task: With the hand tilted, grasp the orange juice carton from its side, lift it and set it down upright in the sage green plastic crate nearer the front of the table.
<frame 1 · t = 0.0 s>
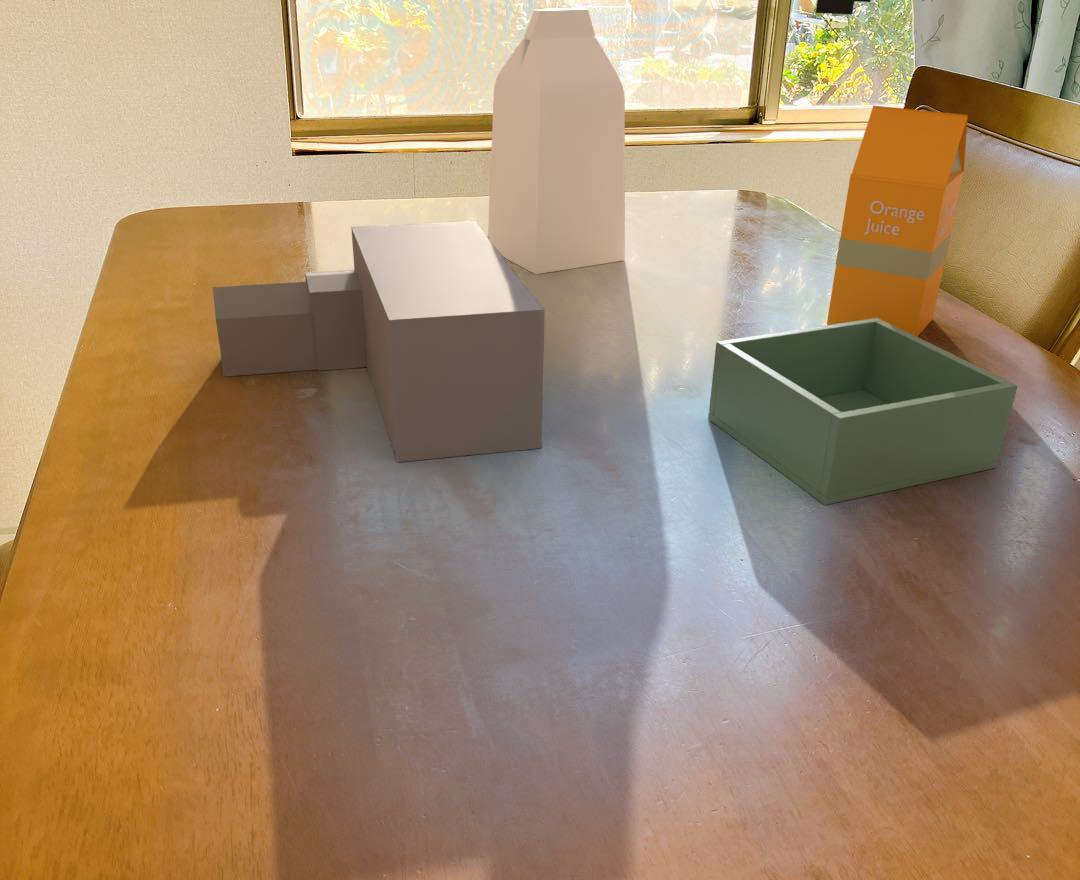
hand: (844, 7, 89), 29 cm above the table, tool pointing down, fingers open, 13 cm apart
milk: (555, 256, 127), on the table
orange juice: (879, 323, 109), on the table
crate: (846, 442, 84), on the table
grey stepped block: (369, 399, 90), on the table
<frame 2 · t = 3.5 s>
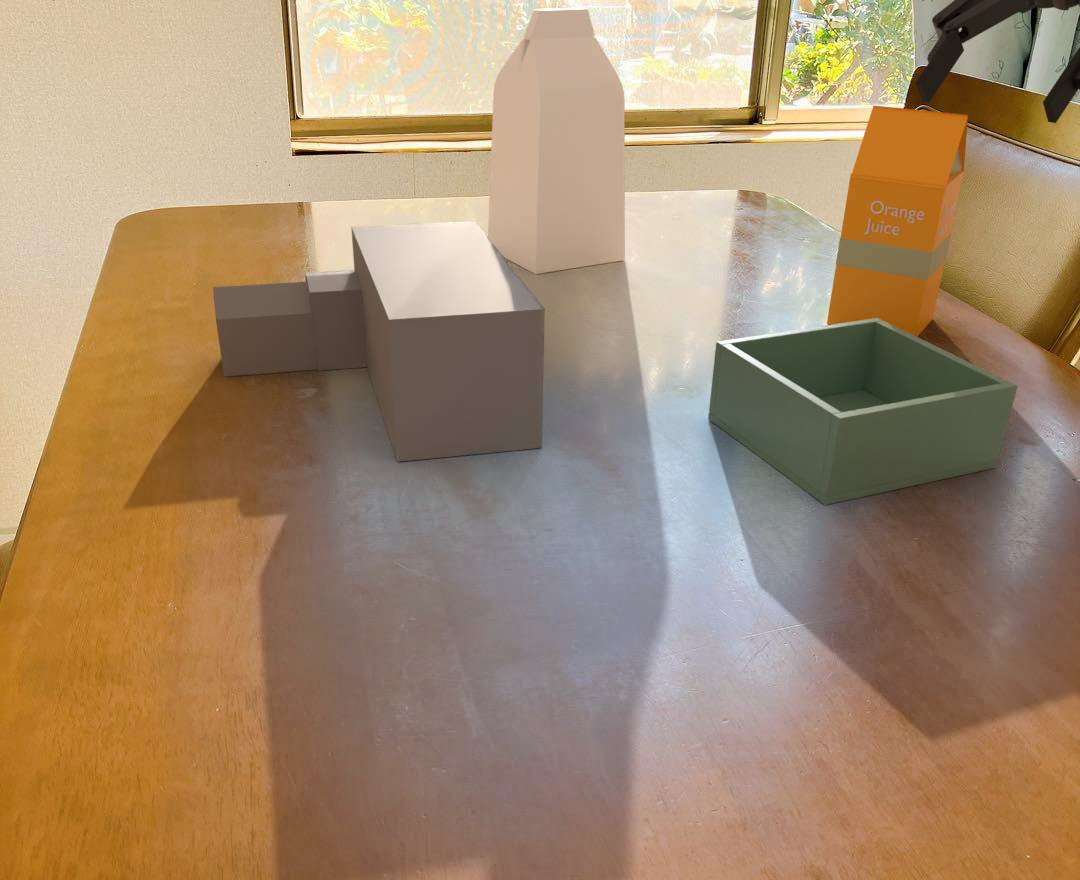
hand: (982, 102, 104), 20 cm above the table, tool tilted 45°, fingers open, 13 cm apart
nothing on the table moved.
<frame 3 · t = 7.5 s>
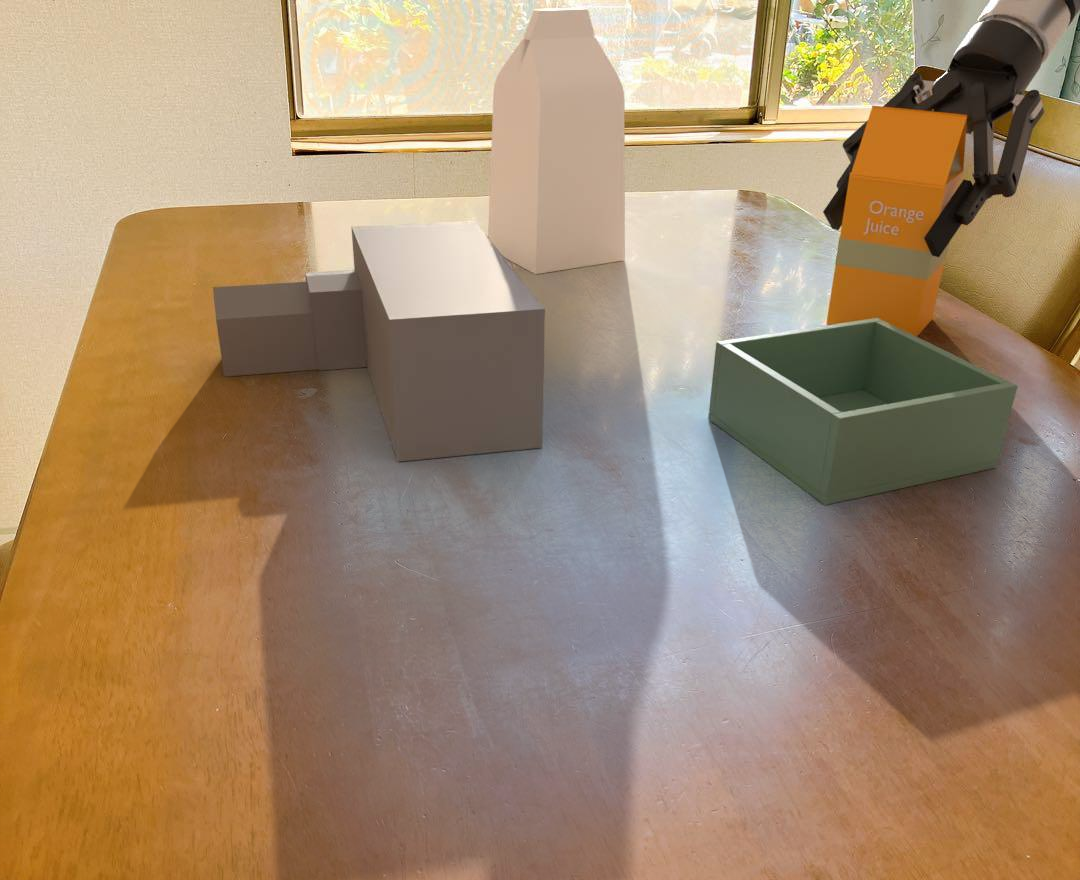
hand: (879, 234, 102), 9 cm above the table, tool tilted 45°, fingers closed on orange juice, 11 cm apart
orange juice: (879, 322, 109), on the table, touching gripper
everything else where it was.
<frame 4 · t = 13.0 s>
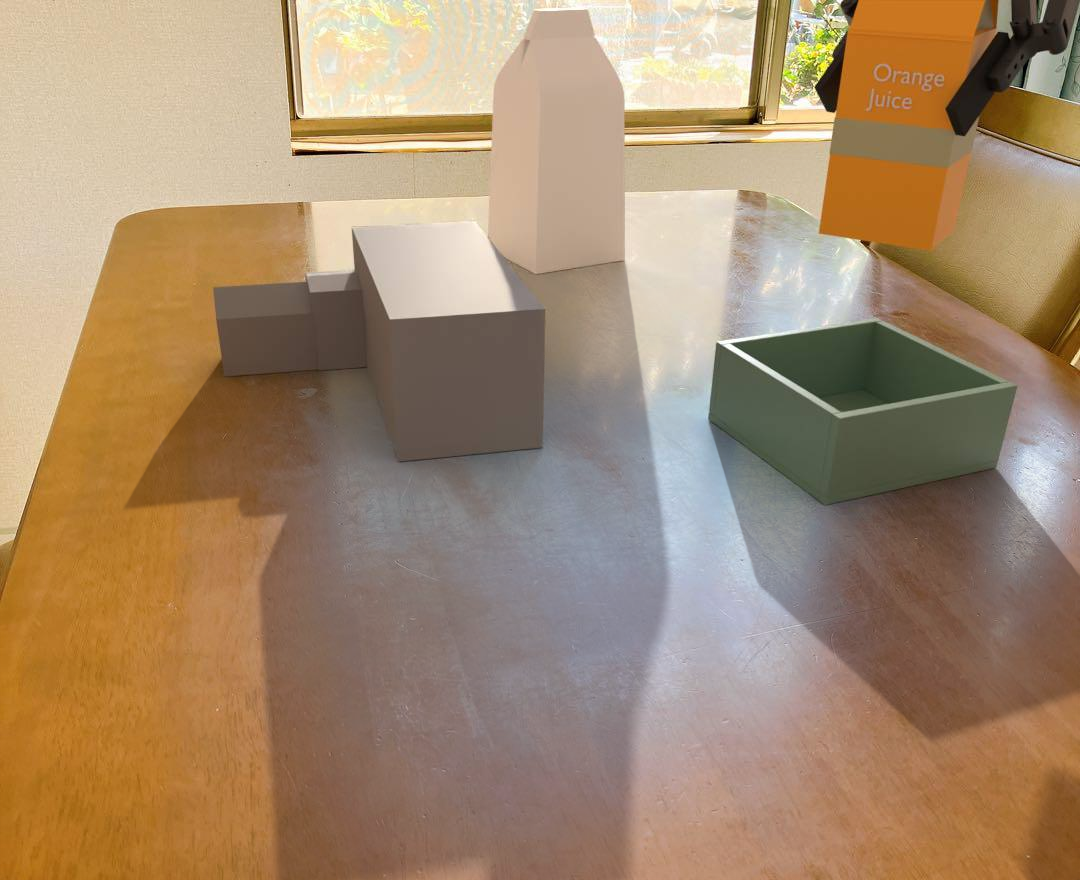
hand: (886, 111, 79), 23 cm above the table, tool tilted 45°, fingers closed on orange juice, 11 cm apart
orange juice: (887, 233, 85), point 14 cm above the table, touching gripper
everything else where it was.
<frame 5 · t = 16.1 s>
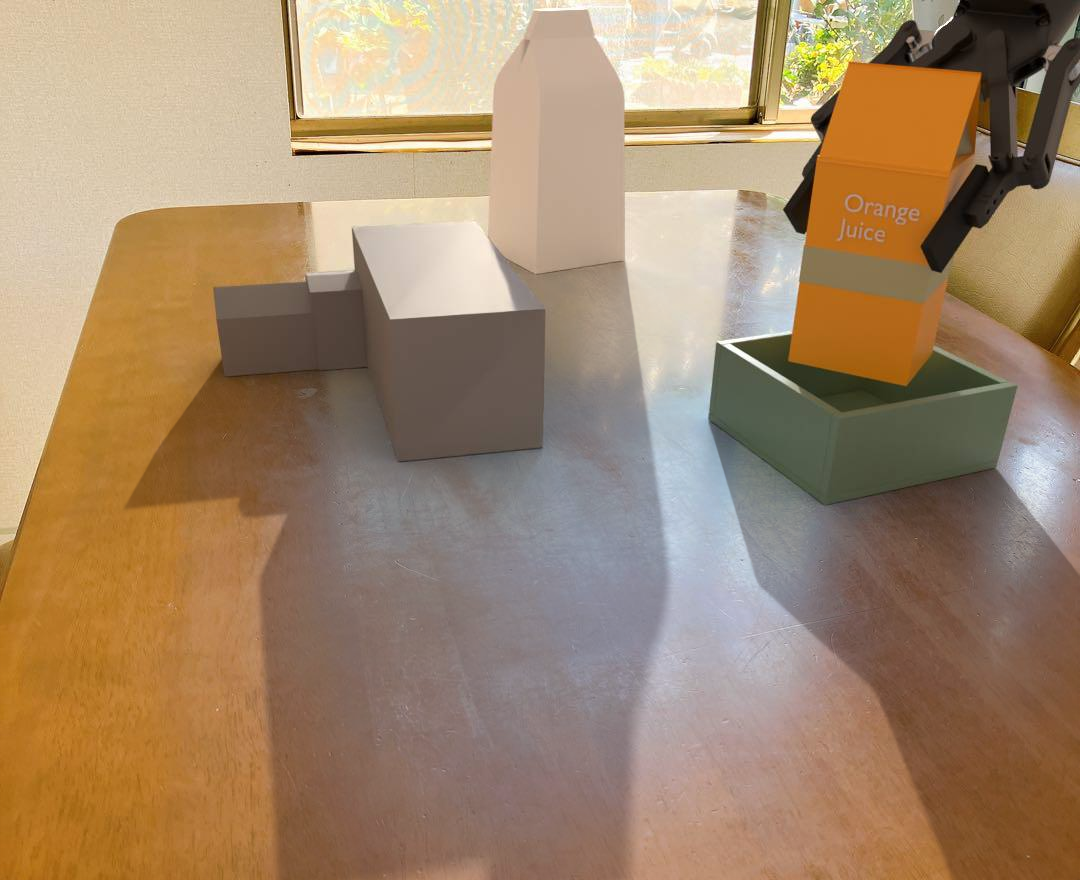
hand: (858, 240, 74), 16 cm above the table, tool tilted 45°, fingers closed on orange juice, 11 cm apart
orange juice: (860, 359, 81), point 7 cm above the table, touching gripper
everything else where it was.
when the fingers open (10 cm above the table, at t = 18.5 s): orange juice stays where it is, resting on crate.
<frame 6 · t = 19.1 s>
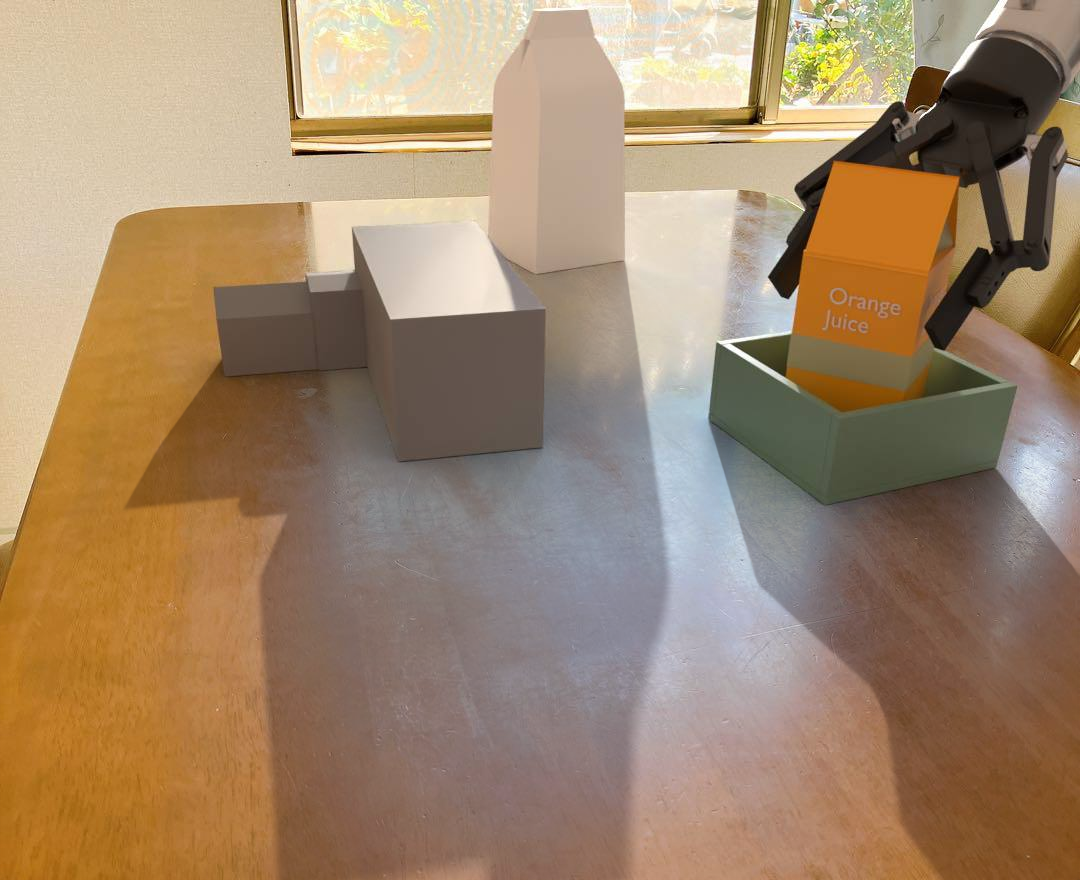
hand: (851, 312, 77), 11 cm above the table, tool tilted 45°, fingers open, 13 cm apart
orange juice: (846, 437, 84), resting on crate
everything else where it was.
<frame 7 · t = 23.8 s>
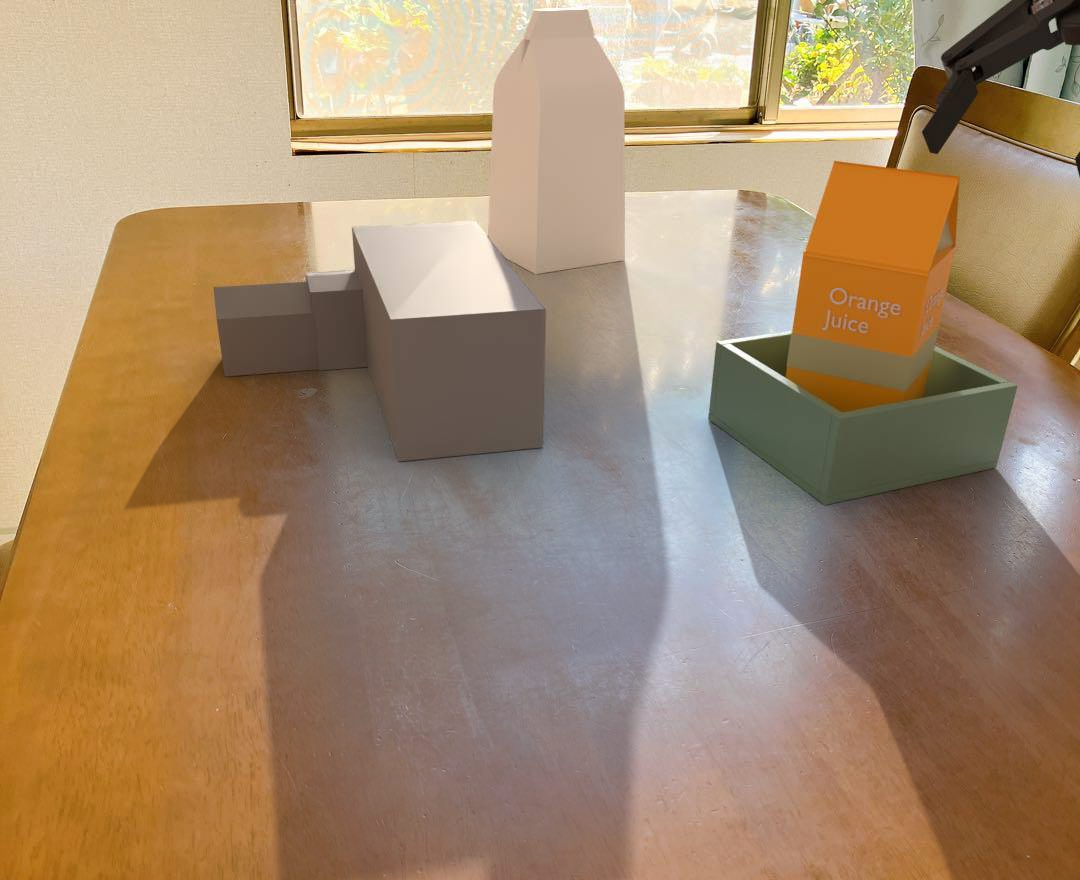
hand: (1001, 156, 88), 18 cm above the table, tool tilted 45°, fingers open, 13 cm apart
nothing on the table moved.
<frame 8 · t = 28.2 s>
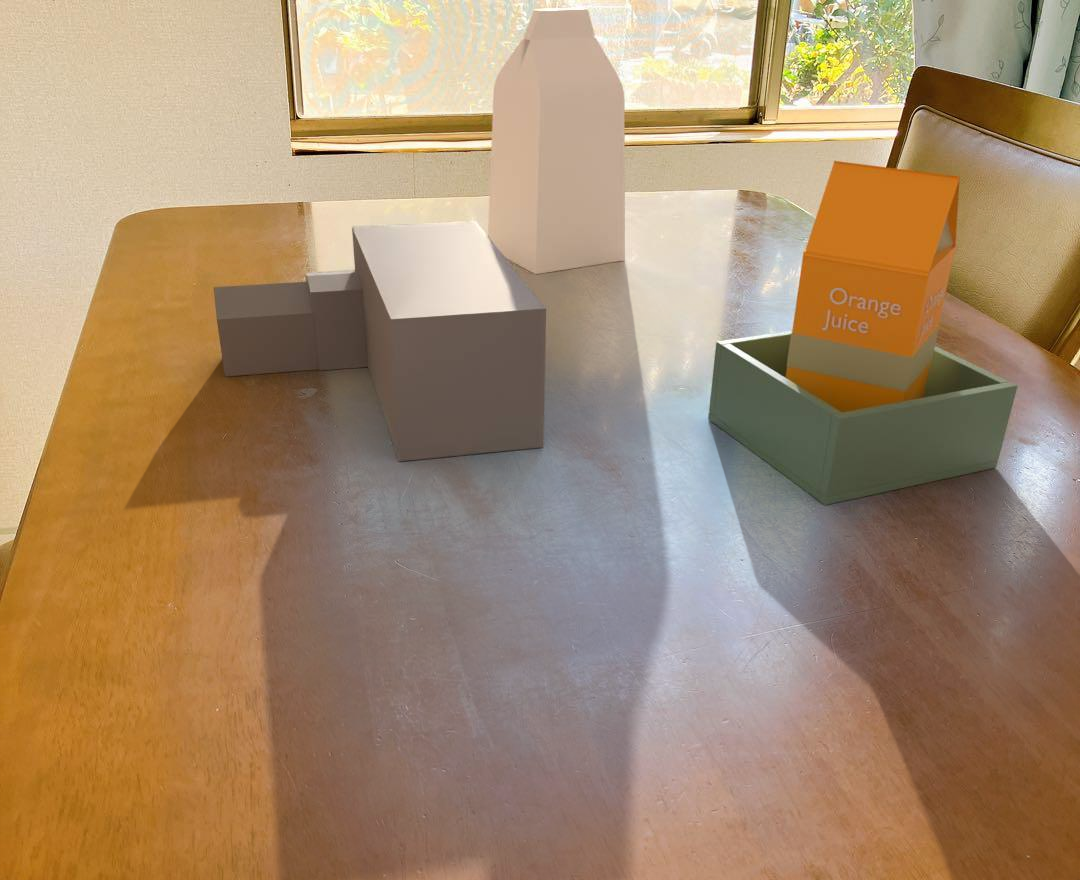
nothing on the table moved.
at the end: orange juice inside the target area in the crate (0.0 cm from its centre), point 0.4 cm above the crate's base; orange juice tilted 0°; the gripper is holding nothing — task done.
